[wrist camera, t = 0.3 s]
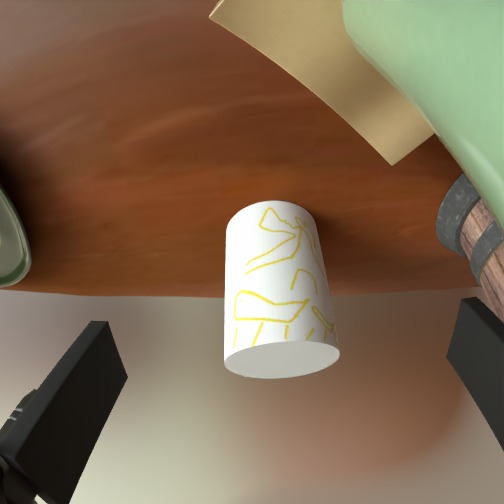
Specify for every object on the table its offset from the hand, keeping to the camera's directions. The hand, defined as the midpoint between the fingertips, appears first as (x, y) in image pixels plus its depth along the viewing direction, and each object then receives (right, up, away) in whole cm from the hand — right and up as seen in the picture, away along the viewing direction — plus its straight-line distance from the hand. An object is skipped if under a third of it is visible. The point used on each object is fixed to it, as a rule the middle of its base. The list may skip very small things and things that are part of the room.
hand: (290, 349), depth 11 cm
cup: (0, +5, +19) cm, 19 cm away
